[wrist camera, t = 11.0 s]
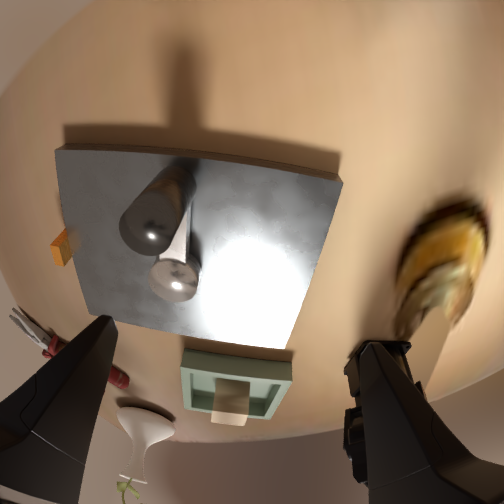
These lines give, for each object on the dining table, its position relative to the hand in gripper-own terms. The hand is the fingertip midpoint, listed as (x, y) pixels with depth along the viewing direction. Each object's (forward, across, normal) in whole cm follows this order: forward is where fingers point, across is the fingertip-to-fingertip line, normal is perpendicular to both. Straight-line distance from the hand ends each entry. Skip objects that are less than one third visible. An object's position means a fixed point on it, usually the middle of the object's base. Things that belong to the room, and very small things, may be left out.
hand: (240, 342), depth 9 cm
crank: (+11, +5, +3) cm, 12 cm away
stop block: (+12, 0, +25) cm, 28 cm away
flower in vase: (+12, +15, +44) cm, 48 cm away
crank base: (+12, +5, +6) cm, 15 cm away
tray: (+12, 0, +25) cm, 28 cm away
